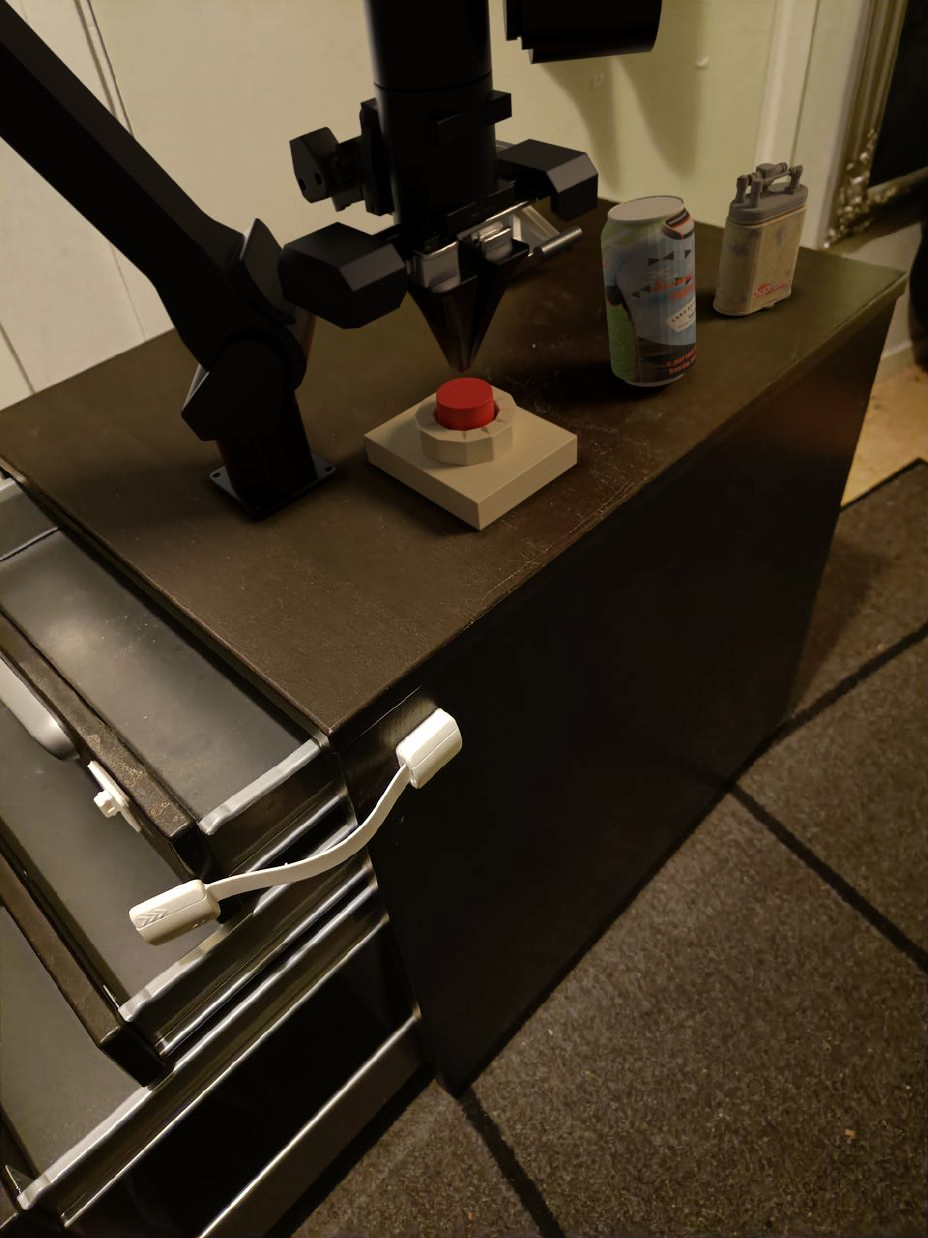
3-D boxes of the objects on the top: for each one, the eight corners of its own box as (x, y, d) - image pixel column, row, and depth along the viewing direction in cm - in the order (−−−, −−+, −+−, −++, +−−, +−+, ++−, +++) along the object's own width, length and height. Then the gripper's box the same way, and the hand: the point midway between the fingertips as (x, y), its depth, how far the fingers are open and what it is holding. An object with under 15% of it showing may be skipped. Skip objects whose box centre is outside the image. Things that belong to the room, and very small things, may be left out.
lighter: (767, 279, 70) (791, 149, 63) (802, 295, 68) (831, 162, 60) (703, 306, 68) (720, 175, 61) (737, 323, 66) (759, 189, 58)
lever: (577, 249, 74) (586, 226, 72) (539, 269, 72) (547, 247, 69) (487, 164, 76) (493, 139, 74) (447, 181, 74) (452, 157, 72)
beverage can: (669, 407, 59) (687, 233, 50) (579, 379, 62) (582, 213, 53) (709, 365, 62) (733, 195, 53) (622, 342, 65) (631, 178, 56)
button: (506, 414, 53) (504, 390, 52) (465, 439, 52) (463, 415, 51) (467, 394, 55) (465, 371, 54) (427, 418, 54) (424, 395, 52)
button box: (577, 463, 55) (577, 411, 52) (479, 531, 51) (475, 479, 48) (463, 404, 61) (458, 355, 58) (368, 461, 57) (358, 411, 54)
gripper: (459, 11, 48) (478, 276, 59) (177, 102, 40) (262, 388, 51) (610, 33, 42) (599, 323, 53) (313, 144, 34) (375, 458, 45)
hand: (460, 368), depth 51 cm, fingers closed
